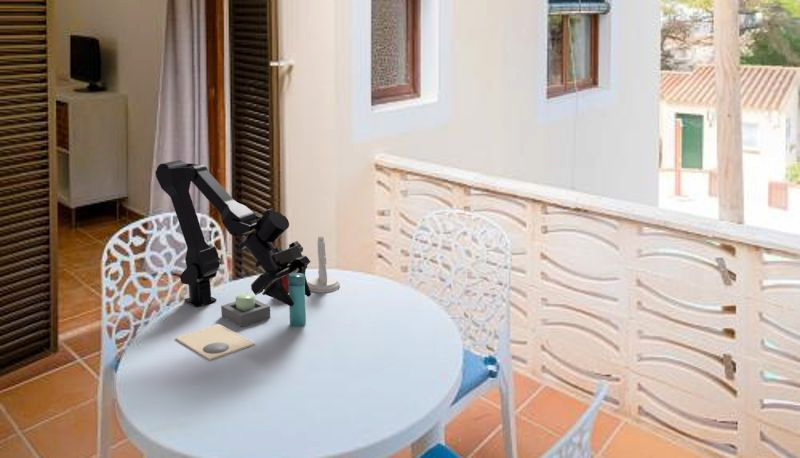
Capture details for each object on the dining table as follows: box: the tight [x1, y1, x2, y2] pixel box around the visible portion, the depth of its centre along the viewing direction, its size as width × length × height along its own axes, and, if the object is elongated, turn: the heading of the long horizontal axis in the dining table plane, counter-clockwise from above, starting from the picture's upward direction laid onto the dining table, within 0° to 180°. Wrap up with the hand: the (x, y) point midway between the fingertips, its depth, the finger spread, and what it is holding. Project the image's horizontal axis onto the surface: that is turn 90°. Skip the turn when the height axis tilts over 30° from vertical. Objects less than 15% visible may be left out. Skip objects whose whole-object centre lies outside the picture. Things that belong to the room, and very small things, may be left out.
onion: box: [277, 272, 289, 294], centre depth 199 cm, size 6×6×8 cm
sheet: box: [174, 323, 256, 361], centre depth 169 cm, size 16×12×1 cm
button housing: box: [220, 299, 271, 327], centre depth 184 cm, size 9×9×3 cm
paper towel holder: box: [307, 235, 341, 293], centre depth 205 cm, size 10×10×15 cm
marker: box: [288, 273, 307, 328], centre depth 179 cm, size 4×4×13 cm
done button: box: [235, 293, 256, 312], centre depth 183 cm, size 5×5×4 cm
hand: (301, 300), depth 178 cm, fingers open, 7 cm apart
